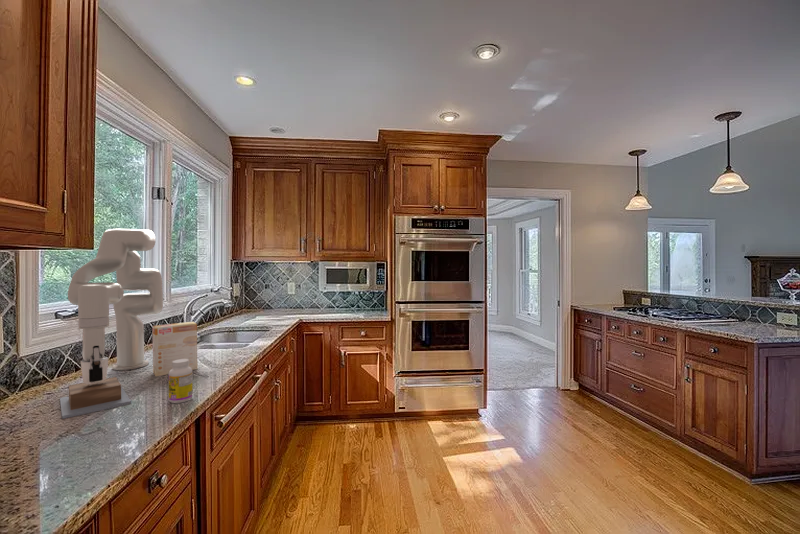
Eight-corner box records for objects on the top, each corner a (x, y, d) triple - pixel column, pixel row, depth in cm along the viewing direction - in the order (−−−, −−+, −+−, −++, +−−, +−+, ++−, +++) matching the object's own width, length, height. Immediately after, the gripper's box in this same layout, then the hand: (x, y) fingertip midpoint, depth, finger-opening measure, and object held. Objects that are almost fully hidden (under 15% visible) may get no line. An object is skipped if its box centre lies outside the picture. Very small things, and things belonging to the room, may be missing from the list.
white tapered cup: (114, 377, 119) (114, 356, 119) (94, 384, 112) (94, 362, 112) (95, 377, 119) (95, 356, 119) (74, 384, 113) (74, 361, 113)
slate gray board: (60, 400, 117) (59, 397, 117) (121, 388, 128) (121, 386, 128) (61, 418, 103) (61, 416, 103) (131, 403, 114) (131, 401, 114)
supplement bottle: (166, 400, 117) (165, 360, 117) (188, 394, 122) (188, 356, 121) (172, 405, 112) (171, 364, 112) (195, 399, 117) (195, 360, 117)
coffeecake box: (193, 365, 156) (193, 321, 156) (198, 369, 151) (197, 323, 151) (152, 373, 146) (151, 325, 146) (155, 377, 141) (154, 327, 141)
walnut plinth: (68, 399, 116) (68, 385, 116) (116, 390, 124) (115, 376, 124) (70, 410, 107) (70, 394, 107) (121, 399, 116) (121, 385, 116)
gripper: (76, 321, 119) (77, 375, 119) (80, 327, 107) (81, 388, 107) (106, 318, 124) (106, 370, 124) (112, 324, 112) (113, 382, 112)
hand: (95, 378), depth 116 cm, fingers closed on white tapered cup, 5 cm apart
